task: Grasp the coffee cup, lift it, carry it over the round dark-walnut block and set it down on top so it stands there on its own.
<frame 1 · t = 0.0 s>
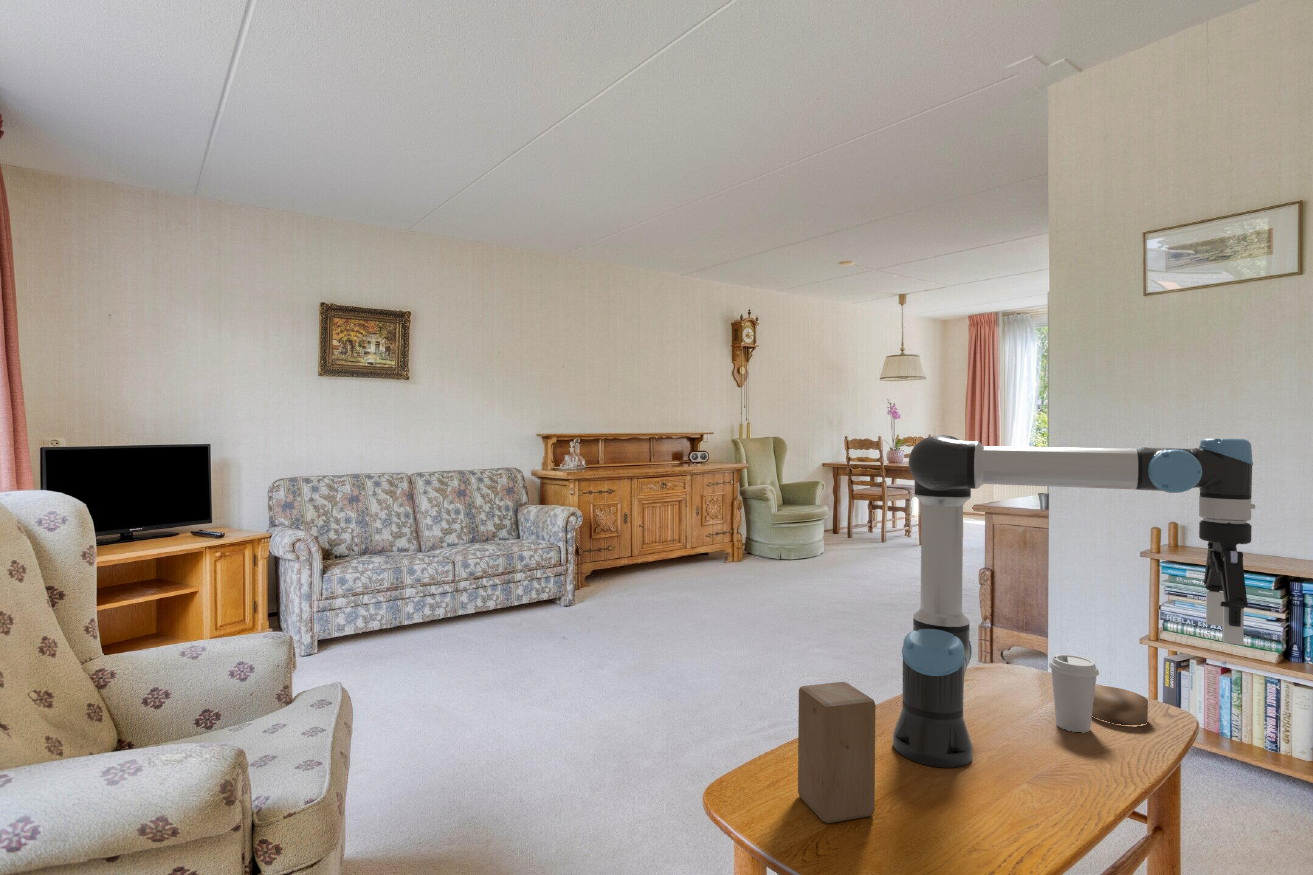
hand: (1223, 633, 127), 28 cm above the table, fingers open, 13 cm apart
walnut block: (1115, 716, 158), on the table
coffee cup: (1073, 727, 151), on the table
wooden block: (835, 807, 118), on the table
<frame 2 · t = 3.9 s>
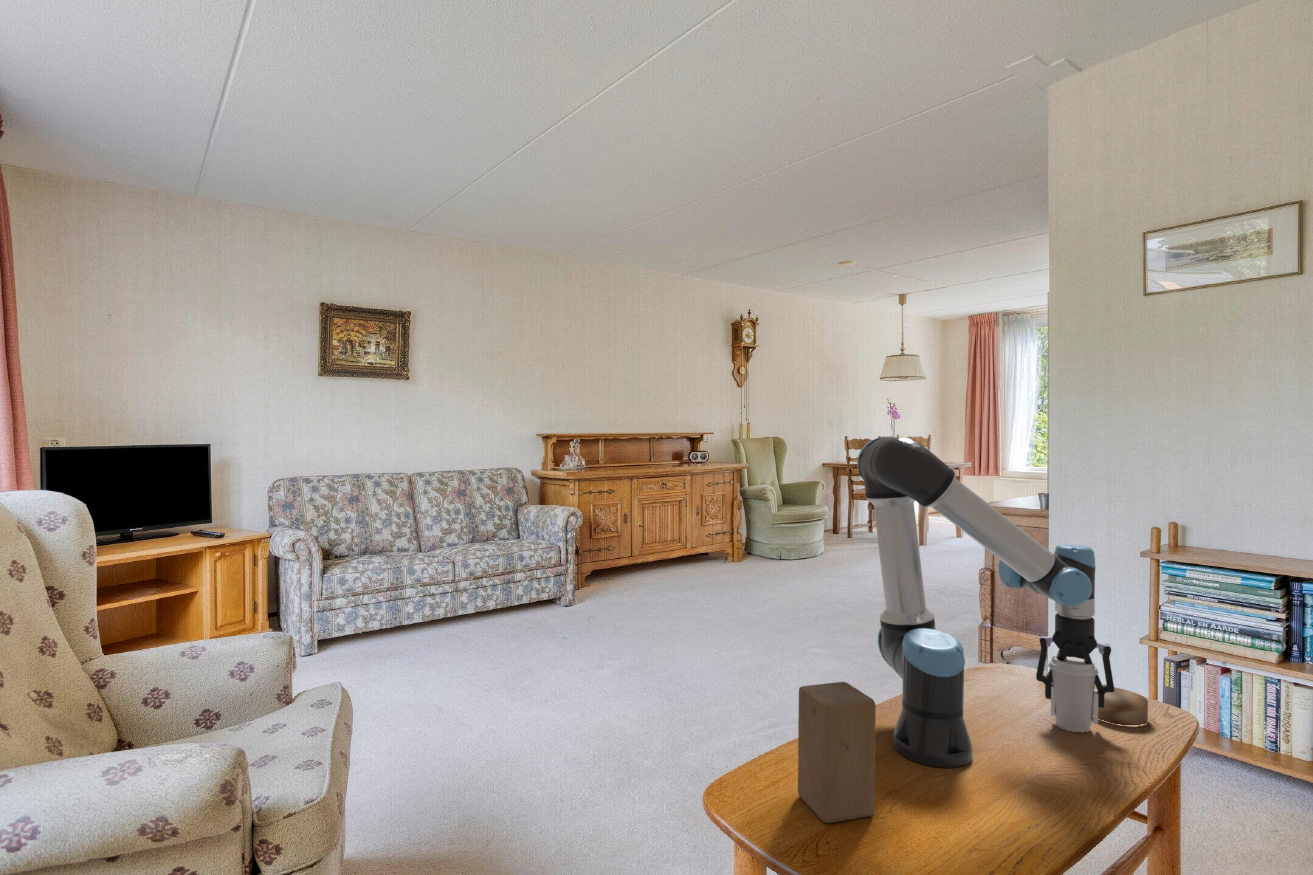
hand: (1073, 717, 151), 2 cm above the table, fingers closed on coffee cup, 7 cm apart
coffee cup: (1072, 727, 151), on the table, touching gripper
everything else where it was.
when the fingers open (9 cm above the table, at t = 8.2 s): coffee cup drops 2 cm, resting on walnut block.
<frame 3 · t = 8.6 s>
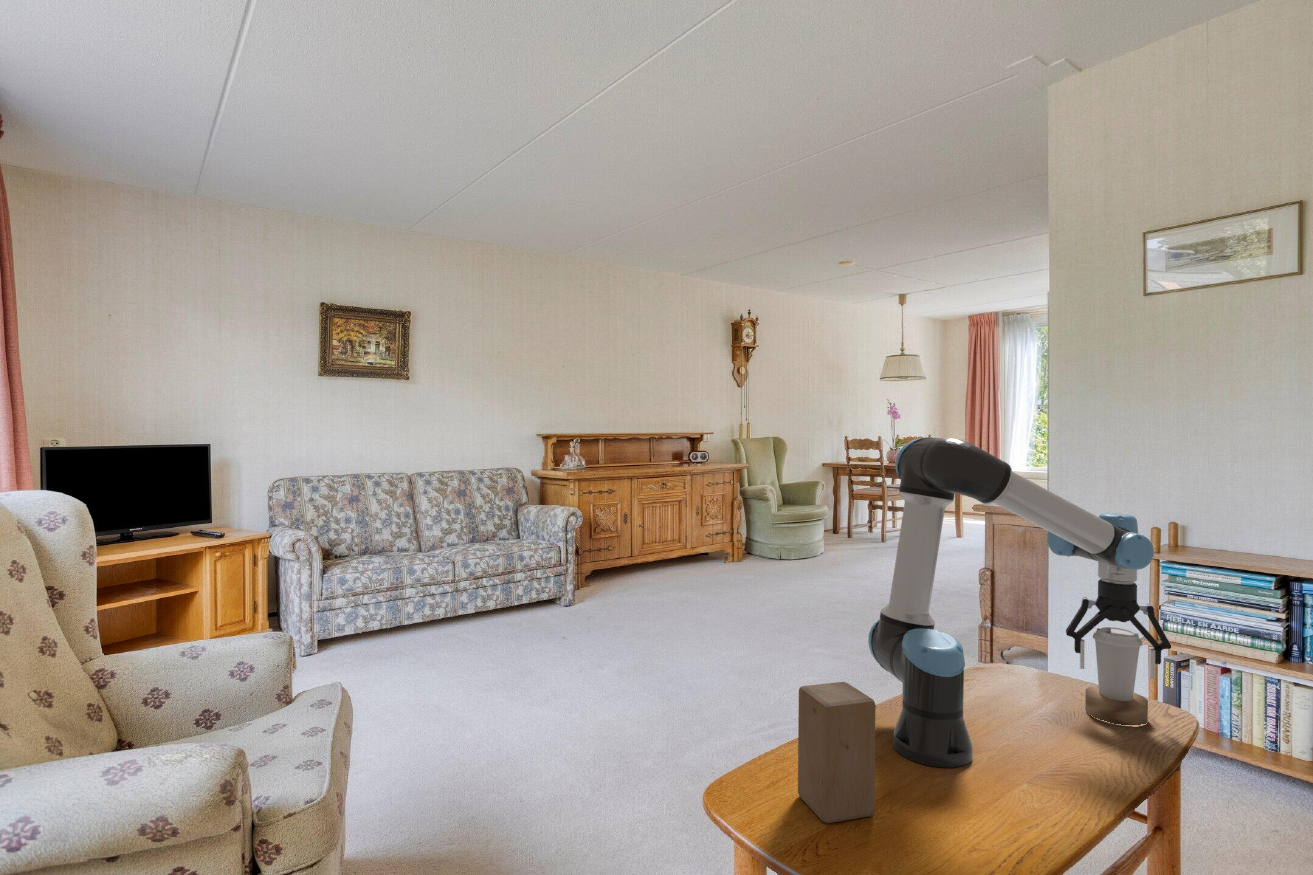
hand: (1116, 672, 158), 10 cm above the table, fingers open, 13 cm apart
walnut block: (1115, 717, 158), on the table, touching coffee cup
coffee cup: (1115, 696, 158), point 5 cm above the table, touching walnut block
everything else where it was.
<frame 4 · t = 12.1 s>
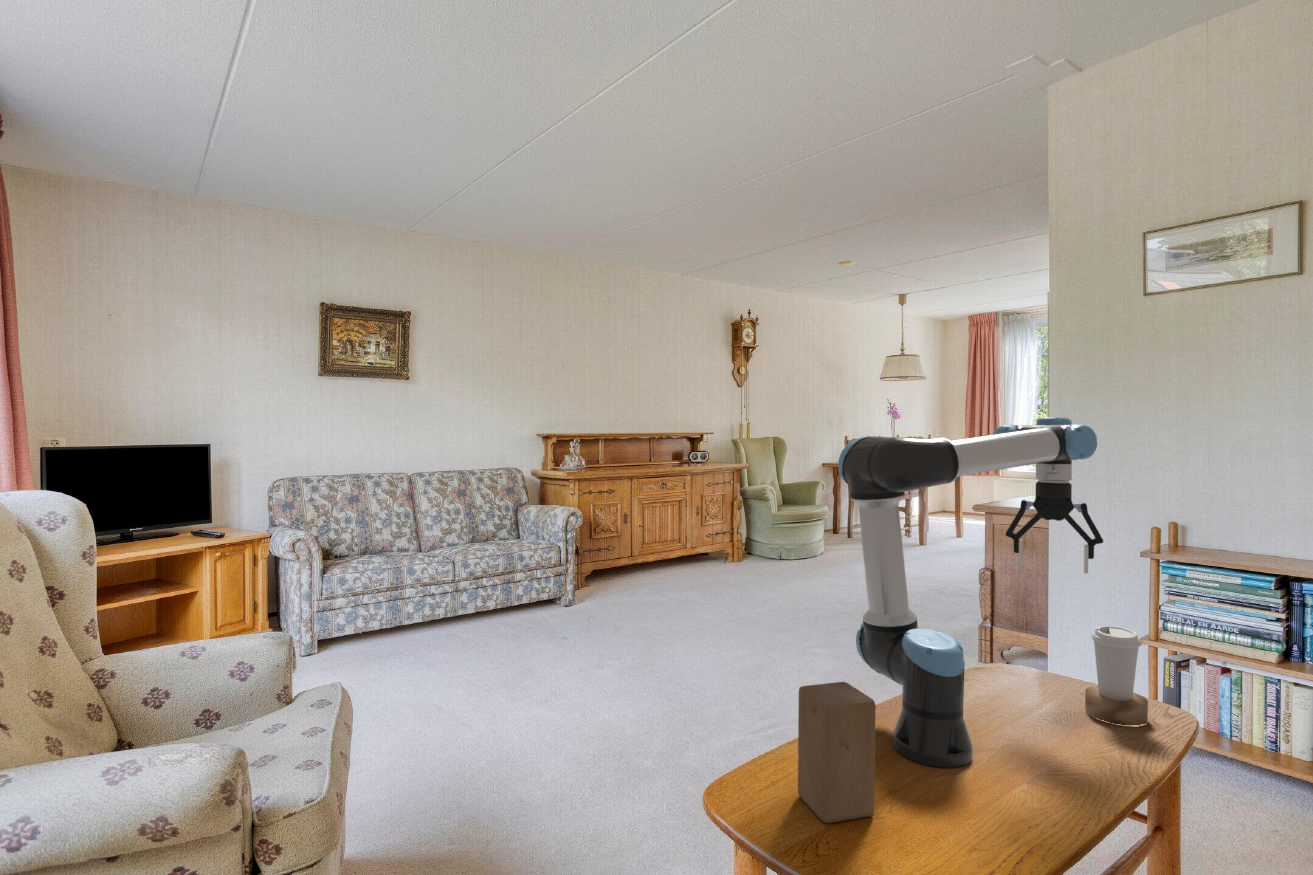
hand: (1052, 569, 164), 33 cm above the table, fingers open, 13 cm apart
at the end: coffee cup 0.2 cm from the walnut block (horizontally); coffee cup point 4.9 cm above the table; coffee cup tilted 7° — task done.
